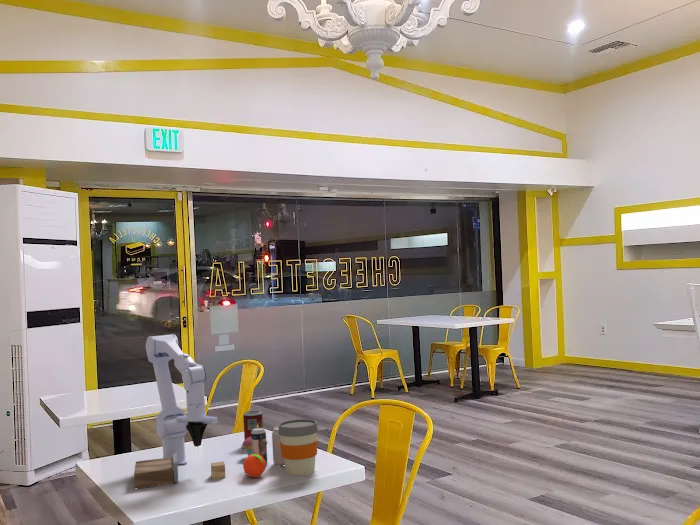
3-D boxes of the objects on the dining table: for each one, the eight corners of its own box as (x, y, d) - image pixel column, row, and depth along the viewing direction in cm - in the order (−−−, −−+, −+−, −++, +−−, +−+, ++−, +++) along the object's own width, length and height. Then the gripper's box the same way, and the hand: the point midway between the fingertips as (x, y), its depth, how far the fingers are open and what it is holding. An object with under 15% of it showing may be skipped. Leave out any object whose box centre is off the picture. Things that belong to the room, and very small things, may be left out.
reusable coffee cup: (287, 479, 200) (284, 429, 201) (275, 469, 212) (272, 422, 212) (326, 472, 205) (323, 424, 206) (312, 463, 217) (309, 417, 217)
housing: (136, 475, 214) (135, 461, 214) (173, 470, 217) (172, 457, 217) (134, 488, 199) (133, 473, 199) (173, 483, 202) (173, 468, 203)
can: (269, 466, 216) (267, 429, 217) (280, 459, 223) (278, 424, 224) (289, 467, 214) (287, 430, 214) (300, 461, 220) (298, 424, 221)
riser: (211, 475, 209) (210, 462, 209) (224, 473, 210) (223, 461, 210) (212, 479, 205) (211, 466, 205) (225, 477, 206) (224, 464, 206)
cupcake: (272, 455, 230) (271, 420, 230) (256, 461, 223) (255, 425, 223) (253, 452, 235) (252, 418, 235) (237, 459, 227) (235, 424, 228)
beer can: (264, 468, 214) (262, 430, 215) (250, 468, 215) (248, 430, 216) (269, 463, 219) (267, 427, 219) (255, 463, 220) (253, 427, 220)
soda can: (265, 445, 244) (263, 412, 244) (245, 448, 242) (243, 414, 243) (262, 441, 251) (260, 409, 251) (243, 443, 249) (242, 411, 249)
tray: (140, 474, 214) (139, 457, 214) (177, 470, 217) (176, 453, 217) (139, 487, 200) (138, 468, 200) (178, 482, 203) (177, 464, 203)
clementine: (272, 476, 204) (271, 453, 205) (254, 482, 200) (253, 458, 200) (257, 472, 210) (256, 449, 210) (239, 477, 205) (238, 454, 205)
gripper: (221, 401, 215) (223, 443, 215) (183, 400, 220) (185, 441, 220) (210, 405, 209) (212, 449, 208) (171, 404, 214) (172, 447, 213)
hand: (197, 445), depth 214 cm, fingers closed
